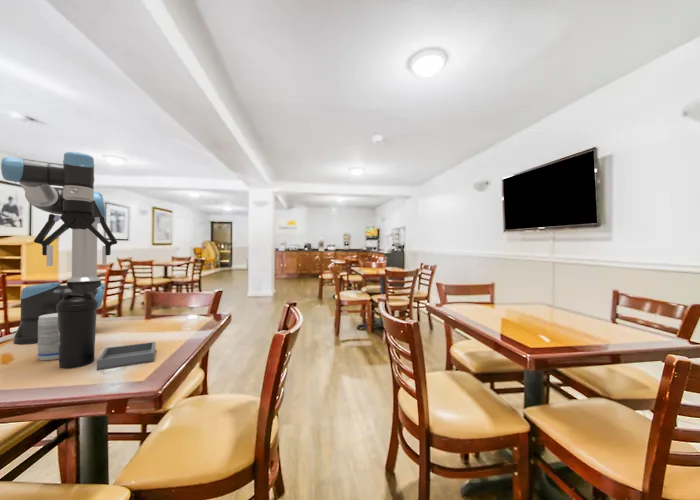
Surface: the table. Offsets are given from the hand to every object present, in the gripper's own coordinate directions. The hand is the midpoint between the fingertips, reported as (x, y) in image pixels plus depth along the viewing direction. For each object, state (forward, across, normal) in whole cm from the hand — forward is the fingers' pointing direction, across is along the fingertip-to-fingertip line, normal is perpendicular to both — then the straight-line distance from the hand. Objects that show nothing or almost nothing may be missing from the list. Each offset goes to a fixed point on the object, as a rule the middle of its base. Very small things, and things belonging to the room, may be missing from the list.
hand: (77, 265), depth 100 cm
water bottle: (+32, 0, 0) cm, 32 cm away
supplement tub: (+32, -8, +13) cm, 36 cm away
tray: (+32, +14, -3) cm, 35 cm away
